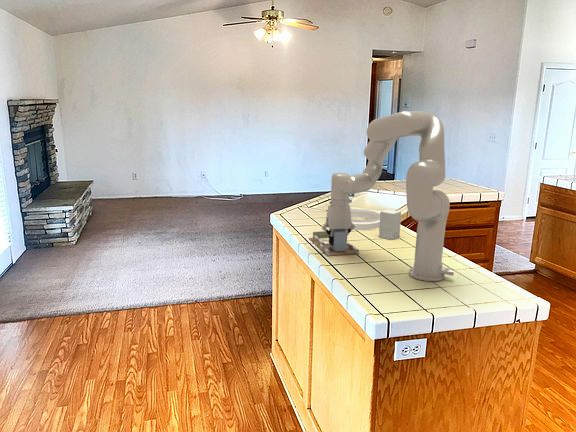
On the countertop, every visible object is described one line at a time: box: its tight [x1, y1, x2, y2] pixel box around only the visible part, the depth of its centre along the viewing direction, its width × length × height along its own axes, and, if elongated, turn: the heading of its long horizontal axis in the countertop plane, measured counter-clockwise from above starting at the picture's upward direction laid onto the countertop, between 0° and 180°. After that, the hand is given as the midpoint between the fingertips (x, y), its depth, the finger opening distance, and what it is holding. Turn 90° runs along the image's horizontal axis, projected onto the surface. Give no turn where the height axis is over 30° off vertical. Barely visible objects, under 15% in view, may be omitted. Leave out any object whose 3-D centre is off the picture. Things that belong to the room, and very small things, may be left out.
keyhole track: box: [308, 230, 360, 257], centre depth 200 cm, size 26×14×3 cm, turn 14°
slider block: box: [329, 229, 348, 251], centre depth 194 cm, size 8×5×8 cm, turn 14°
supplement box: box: [378, 208, 402, 241], centre depth 215 cm, size 7×7×13 cm
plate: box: [350, 208, 380, 231], centre depth 241 cm, size 27×27×6 cm
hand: (337, 243), depth 194 cm, fingers closed on slider block, 5 cm apart
